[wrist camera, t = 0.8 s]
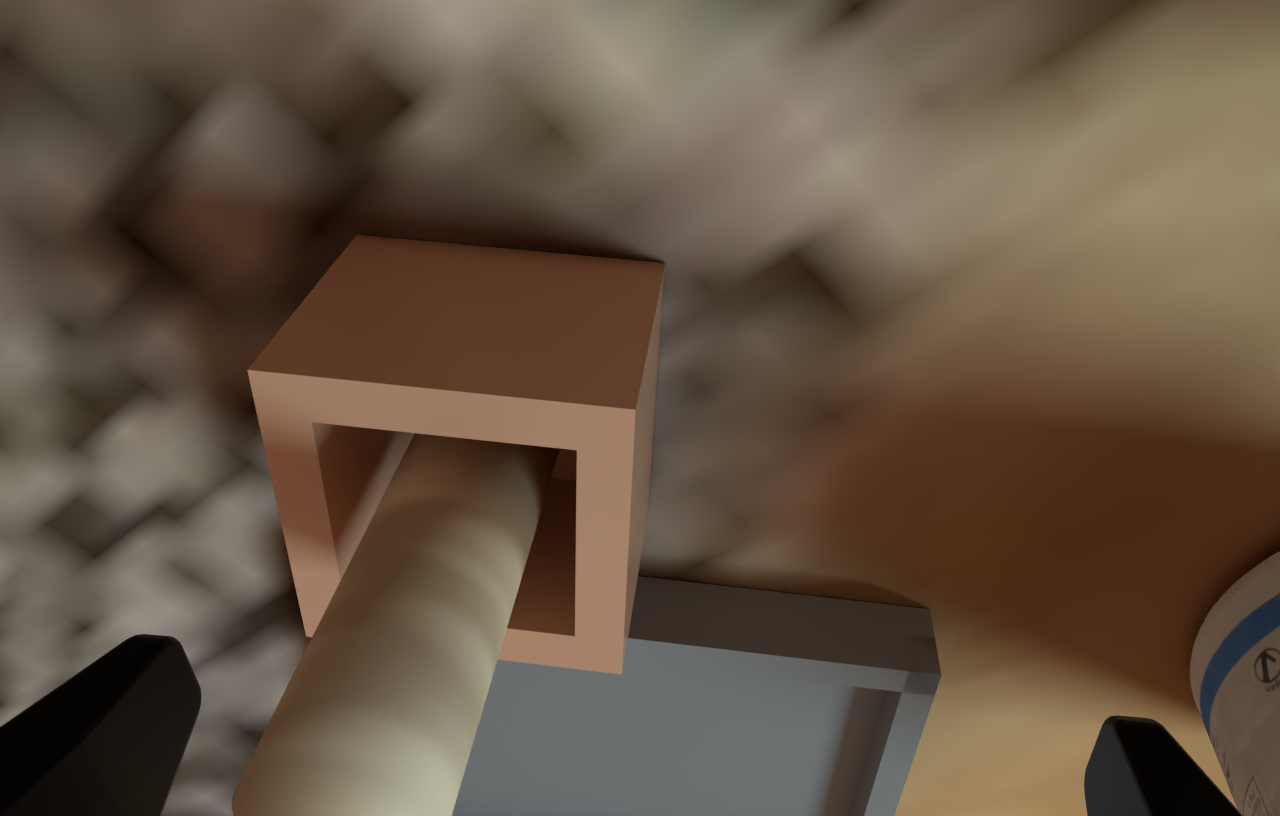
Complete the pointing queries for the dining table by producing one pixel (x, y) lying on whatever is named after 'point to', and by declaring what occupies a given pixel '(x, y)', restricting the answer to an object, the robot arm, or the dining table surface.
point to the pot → (474, 416)
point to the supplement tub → (1243, 686)
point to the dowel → (406, 640)
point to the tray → (714, 712)
